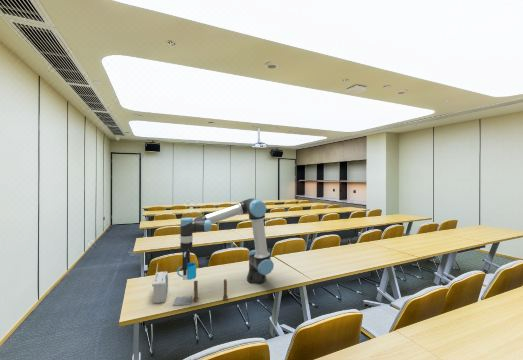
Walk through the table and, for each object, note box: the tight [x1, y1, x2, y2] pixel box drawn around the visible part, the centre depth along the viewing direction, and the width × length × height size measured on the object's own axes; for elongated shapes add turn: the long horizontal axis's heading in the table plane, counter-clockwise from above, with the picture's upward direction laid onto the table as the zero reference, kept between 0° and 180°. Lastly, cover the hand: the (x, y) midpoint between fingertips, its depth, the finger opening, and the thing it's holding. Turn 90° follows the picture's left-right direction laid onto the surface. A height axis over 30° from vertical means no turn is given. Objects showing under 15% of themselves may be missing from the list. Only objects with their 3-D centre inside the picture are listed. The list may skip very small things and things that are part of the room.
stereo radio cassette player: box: [151, 262, 169, 304], centre depth 167 cm, size 21×8×20 cm, turn 17°
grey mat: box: [172, 296, 192, 307], centre depth 161 cm, size 10×10×1 cm
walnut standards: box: [192, 278, 229, 303], centre depth 163 cm, size 22×4×13 cm, turn 97°
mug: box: [176, 262, 197, 281], centre depth 160 cm, size 12×8×8 cm
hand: (186, 276), depth 161 cm, fingers closed on mug, 8 cm apart
